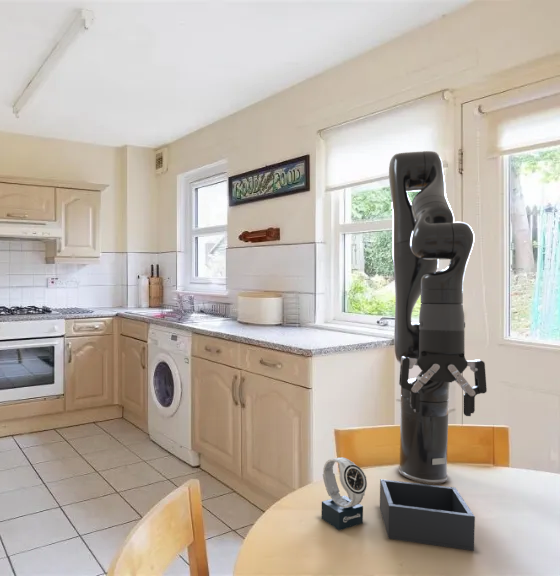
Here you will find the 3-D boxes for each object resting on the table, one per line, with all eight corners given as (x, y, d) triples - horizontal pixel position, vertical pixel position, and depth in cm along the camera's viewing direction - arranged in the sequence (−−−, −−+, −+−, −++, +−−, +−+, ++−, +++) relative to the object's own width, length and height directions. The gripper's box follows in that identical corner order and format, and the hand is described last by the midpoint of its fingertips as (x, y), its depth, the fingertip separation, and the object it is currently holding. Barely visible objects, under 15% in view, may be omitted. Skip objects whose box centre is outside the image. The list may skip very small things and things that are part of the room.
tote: (379, 508, 90) (380, 478, 89) (454, 517, 86) (455, 487, 86) (388, 538, 79) (389, 505, 79) (474, 551, 76) (474, 516, 76)
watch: (347, 536, 80) (348, 471, 80) (314, 514, 87) (315, 454, 87) (372, 528, 82) (373, 465, 82) (337, 507, 90) (338, 449, 89)
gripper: (478, 327, 92) (478, 412, 91) (397, 325, 96) (397, 406, 96) (491, 330, 85) (491, 421, 84) (403, 327, 89) (403, 414, 89)
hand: (441, 413), depth 90 cm, fingers open, 8 cm apart
